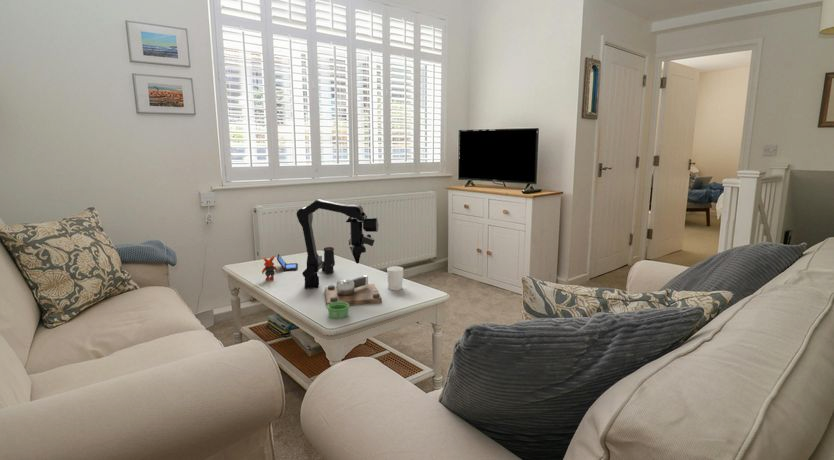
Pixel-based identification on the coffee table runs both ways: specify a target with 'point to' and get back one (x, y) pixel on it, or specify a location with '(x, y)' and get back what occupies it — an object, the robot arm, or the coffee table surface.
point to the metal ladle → (350, 285)
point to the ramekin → (338, 310)
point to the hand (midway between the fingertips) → (357, 262)
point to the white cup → (395, 277)
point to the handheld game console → (287, 266)
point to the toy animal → (269, 268)
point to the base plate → (354, 295)
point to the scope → (328, 260)
